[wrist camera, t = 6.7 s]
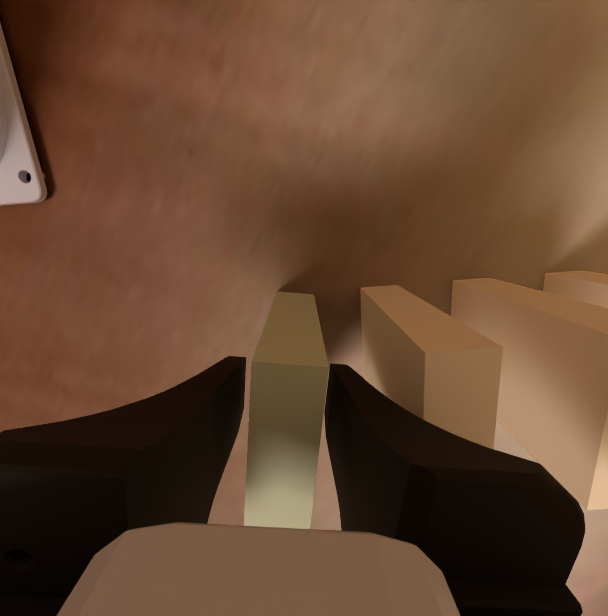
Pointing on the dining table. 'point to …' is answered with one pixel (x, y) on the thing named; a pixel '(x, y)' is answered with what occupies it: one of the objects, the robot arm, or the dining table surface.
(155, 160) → the dining table surface
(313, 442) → the sage domino
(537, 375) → the ivory domino
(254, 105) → the dining table surface
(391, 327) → the ivory domino
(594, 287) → the ivory domino
